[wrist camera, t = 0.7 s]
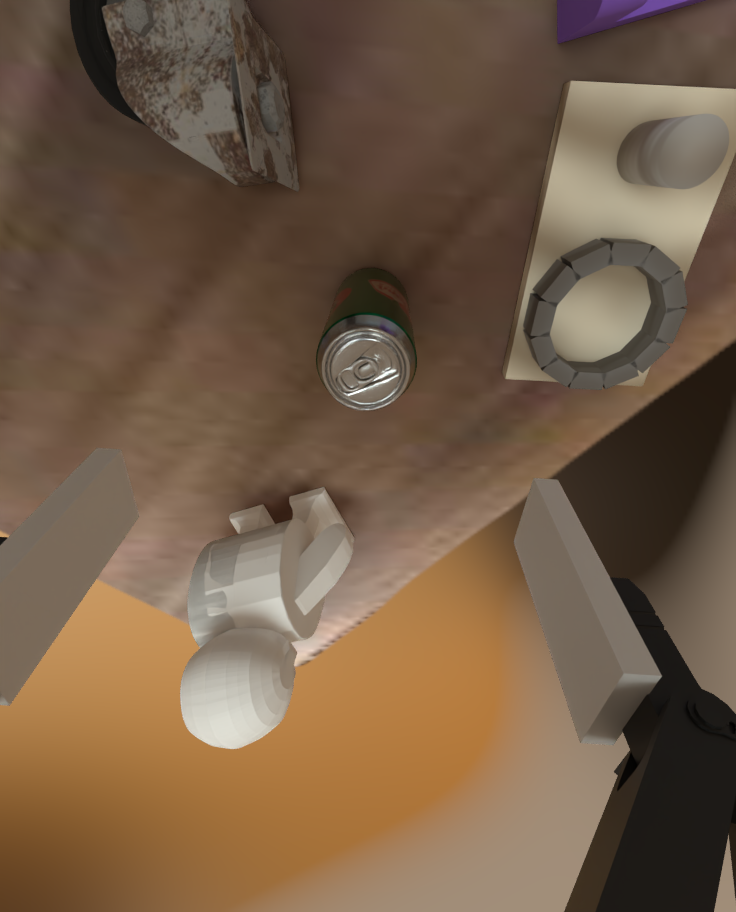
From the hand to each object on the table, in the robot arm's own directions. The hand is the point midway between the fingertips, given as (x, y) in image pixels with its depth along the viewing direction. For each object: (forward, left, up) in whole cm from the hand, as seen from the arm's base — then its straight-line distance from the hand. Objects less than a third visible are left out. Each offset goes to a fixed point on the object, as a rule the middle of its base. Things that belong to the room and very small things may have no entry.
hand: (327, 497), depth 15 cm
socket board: (-5, +16, -21) cm, 27 cm away
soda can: (-1, +1, -21) cm, 21 cm away
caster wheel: (-13, -9, -21) cm, 26 cm away
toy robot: (+19, -6, -21) cm, 29 cm away
